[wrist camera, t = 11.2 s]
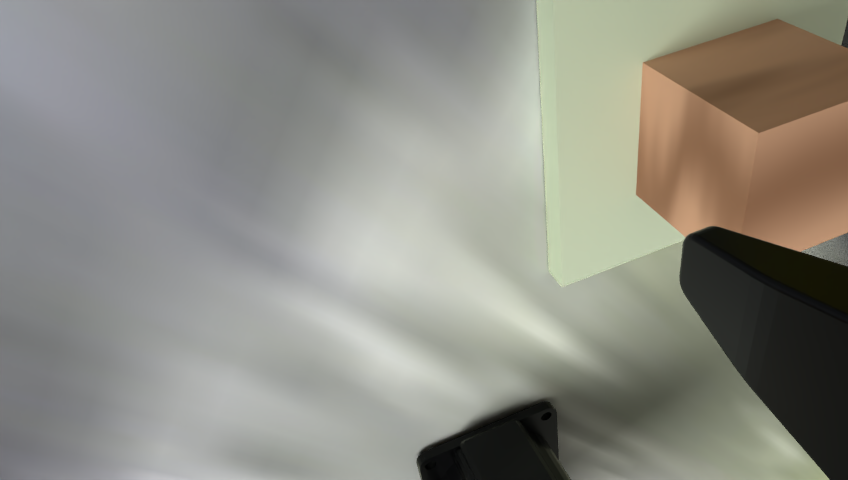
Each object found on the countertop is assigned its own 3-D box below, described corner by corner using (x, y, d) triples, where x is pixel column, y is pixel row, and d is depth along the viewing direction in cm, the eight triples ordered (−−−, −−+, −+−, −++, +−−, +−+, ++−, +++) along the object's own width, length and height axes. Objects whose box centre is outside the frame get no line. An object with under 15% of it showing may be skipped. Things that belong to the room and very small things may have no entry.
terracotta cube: (754, 151, 26) (868, 223, 22) (635, 194, 25) (733, 278, 21) (777, 18, 23) (915, 76, 19) (642, 62, 22) (758, 133, 18)
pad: (787, 180, 29) (806, 193, 28) (548, 271, 27) (562, 287, 26) (849, -108, 22) (876, -103, 22) (535, -17, 20) (552, -7, 19)
